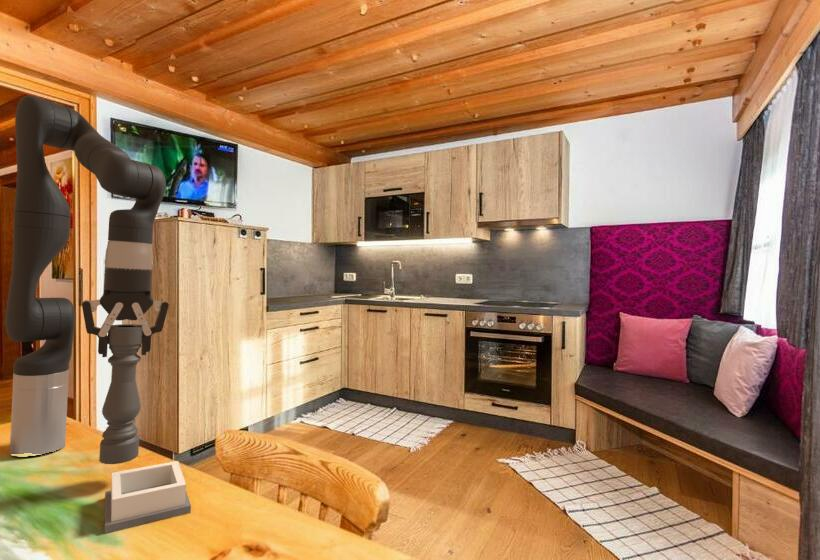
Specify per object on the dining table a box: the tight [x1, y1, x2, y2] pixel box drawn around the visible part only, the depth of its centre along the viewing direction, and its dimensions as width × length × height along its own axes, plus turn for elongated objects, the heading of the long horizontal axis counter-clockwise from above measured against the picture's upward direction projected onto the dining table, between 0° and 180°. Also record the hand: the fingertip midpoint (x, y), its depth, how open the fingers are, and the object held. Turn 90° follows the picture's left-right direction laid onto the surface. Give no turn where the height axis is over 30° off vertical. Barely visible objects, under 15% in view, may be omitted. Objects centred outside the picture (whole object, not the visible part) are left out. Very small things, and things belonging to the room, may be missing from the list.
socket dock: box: [104, 460, 192, 534], centre depth 75 cm, size 12×12×5 cm
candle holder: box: [98, 323, 144, 465], centre depth 81 cm, size 6×6×25 cm
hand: (124, 355), depth 81 cm, fingers closed on candle holder, 5 cm apart
